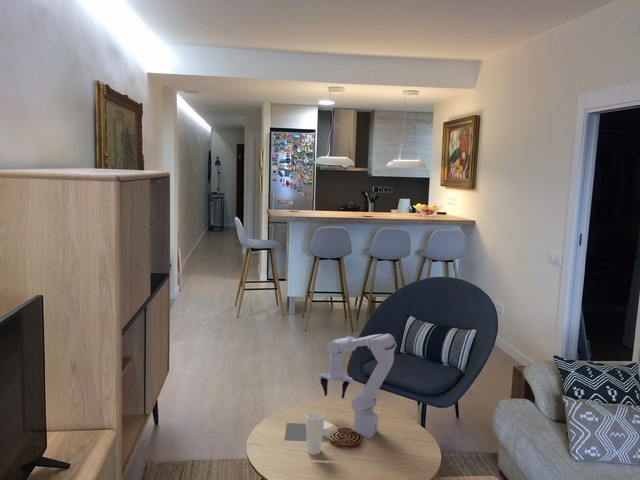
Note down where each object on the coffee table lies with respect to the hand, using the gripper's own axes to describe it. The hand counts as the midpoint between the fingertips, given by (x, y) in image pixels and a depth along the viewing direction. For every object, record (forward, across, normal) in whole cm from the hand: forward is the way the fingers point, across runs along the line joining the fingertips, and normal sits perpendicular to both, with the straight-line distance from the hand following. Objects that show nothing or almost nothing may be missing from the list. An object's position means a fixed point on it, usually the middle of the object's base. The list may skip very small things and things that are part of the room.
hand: (334, 396), depth 232 cm
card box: (+9, 0, -16) cm, 18 cm away
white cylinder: (+10, -1, -31) cm, 32 cm away
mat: (+9, -5, -17) cm, 20 cm away
